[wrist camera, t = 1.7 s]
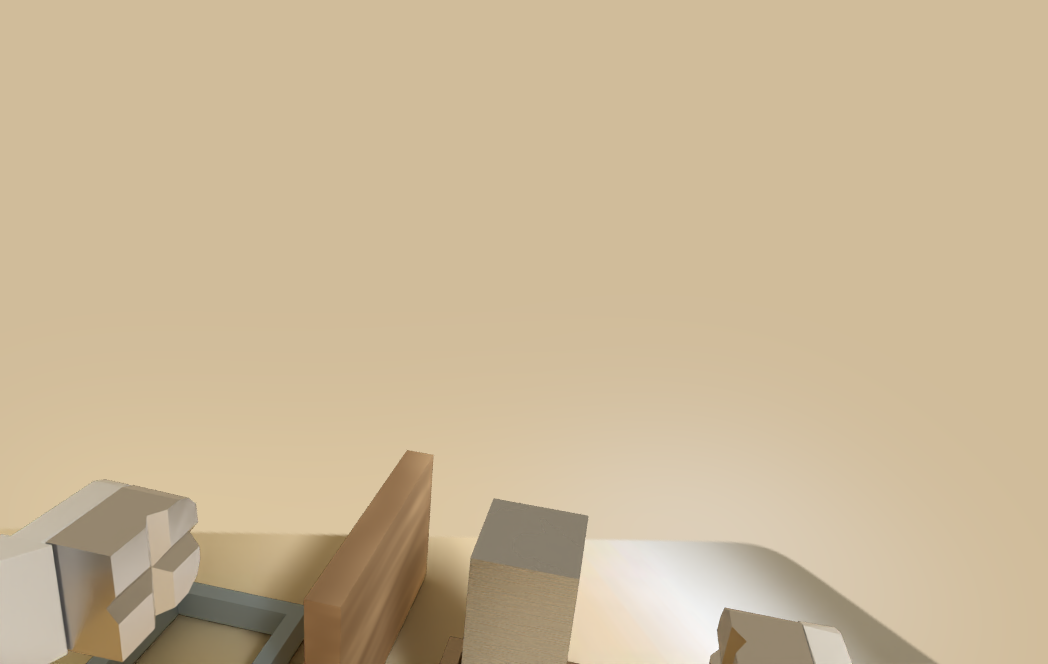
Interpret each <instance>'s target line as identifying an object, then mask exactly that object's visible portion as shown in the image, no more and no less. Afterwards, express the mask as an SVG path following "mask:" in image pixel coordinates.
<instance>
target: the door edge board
mask: <svg viewBox="0 0 1048 664" xmlns="http://www.w3.org/2000/svg"><path fill="white" fill-rule="evenodd" d="M432 470H433V455H431V454H426V453H420V452H414V451H409V450H407V451H406V453H405V454H404V455H403V457H402V458H401V460H400V461H399V463H398V464H397V466H396V467H395V468H394V470H393V471H392V473H391V474H390V476H389V477H388V479H387V480H386V481H385V483H384V484H383V486H382V487H381V489H380V490H379V492H378V493H377V495H376V496H375V497H374V499H373V500H372V502H371V503H370V505H369V506H368V507H367V509H366V511H365V512H364V513H363V515H362V516H361V518H360V519H359V520H358V522H357V523H356V525H355V526H354V528H353V529H352V530H351V532H350V533H349V535H348V536H347V538H346V539H345V541H344V542H343V543H342V545H341V546H340V548H339V549H338V551H337V552H336V554H335V555H334V556H333V558H332V559H331V561H330V562H329V564H328V565H327V567H326V568H325V569H324V571H323V572H322V574H321V575H320V577H319V578H318V580H317V581H316V582H315V584H314V585H313V587H312V588H311V590H310V591H309V593H308V594H307V595H306V597H305V598H304V655H305V664H385V662H386V659H387V657H388V655H389V653H390V651H391V649H392V647H393V644H394V642H395V640H396V638H397V636H398V634H399V632H400V630H401V627H402V625H403V623H404V621H405V619H406V617H407V615H408V613H409V610H410V608H411V606H412V604H413V602H414V600H415V598H416V595H417V593H418V591H419V589H420V587H421V585H422V583H423V581H424V578H425V576H426V570H427V553H428V537H429V520H430V503H431V487H432Z"/></svg>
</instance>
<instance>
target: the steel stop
mask: <svg viewBox="0 0 1048 664" xmlns="http://www.w3.org/2000/svg"><path fill="white" fill-rule="evenodd" d="M587 522H588V516H586V515H581V514H575V513H570V512H565V511H559V510H554V509H548V508H543V507H537V506H532V505H526V504H521V503H515V502H510V501H504V500H499V499H493V502H492V504H491V507H490V510H489V512H488V515H487V517H486V520H485V522H484V525H483V527H482V530H481V532H480V535H479V538H478V540H477V543H476V545H475V548H474V550H473V553H472V556H471V559H470V570H469V582H468V593H467V605H466V617H465V628H464V640H463V651H462V663H461V664H567V657H568V651H569V644H570V638H571V631H572V624H573V618H574V611H575V605H576V598H577V592H578V585H579V579H580V572H581V565H582V558H583V551H584V544H585V537H586V529H587Z"/></svg>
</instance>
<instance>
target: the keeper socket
mask: <svg viewBox="0 0 1048 664" xmlns="http://www.w3.org/2000/svg"><path fill="white" fill-rule="evenodd" d="M178 614H180V615H185V616H189V617H194V618H198V619H203V620H207V621H212V622H216V623H221V624H225V625H230V626H235V627H239V628H244V629H248V630H253V631H257V632H262V633H266V634H271V635H272V636H271V637H270V639H269V640H268V641H267V643H266V644H265V646H264V647H263V649H262V650H261V651H260V653H259V654H258V656H257V657H256V658H255V660H254V661H253V663H252V664H288V662H289V661H290V659H291V658H292V656H293V655H294V653H295V652H296V650H297V648H298V647H299V645H300V644H301V642H302V641H303V639H304V605H300V604H295V603H291V602H286V601H281V600H276V599H272V598H267V597H262V596H258V595H253V594H248V593H243V592H239V591H234V590H229V589H225V588H220V587H215V586H211V585H206V584H201V583H196V582H193V584H192V586H191V588H190V590H189V592H188V594H187V595H186V596H185V597H184V598H183V599H182V600H181V602H180V603H179V604H178V605H177V606H176V607H175V608H172V609H170V610H168V611H165V612H163V613H161V614H159V615H156V621H155V629H154V630H153V631H152V632H151V633H150V634H149V635H148V636H147V637H146V639H145V640H144V641H143V642H142V643H141V644H140V645H139V646H138V647H137V648H136V649H135V650H134V651H133V652H132V653H131V654H130V655H129V656H128V657H127V658H126V659H125V660H124V661H123V662H120V661H115V660H110V659H105V658H101V657H96V656H93V657H92V658H91V659H90V660H89V661H88V662H87V663H86V664H133V663H134V662H135V661H136V660H137V659H138V658H139V657H140V656H141V655H142V654H143V652H144V651H145V650H146V649H147V648H148V647H149V646H150V645H151V644H152V643H153V642H154V640H155V639H156V638H157V637H158V636H159V635H160V634H161V633H162V632H163V631H164V630H165V628H166V627H167V626H168V625H169V624H170V623H171V622H172V621H173V620H174V619H175V618H176V617H177V615H178Z"/></svg>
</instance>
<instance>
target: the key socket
mask: <svg viewBox="0 0 1048 664" xmlns="http://www.w3.org/2000/svg"><path fill="white" fill-rule="evenodd" d="M463 640H464V639H460V638H455V637H451V636H450V638H449V641H448V643H447V646H446V649H445V651H444V654H443V657H442V659H441V662H440V664H461V663H462V651H463ZM567 664H578V663H573V662H568V661H567Z"/></svg>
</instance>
